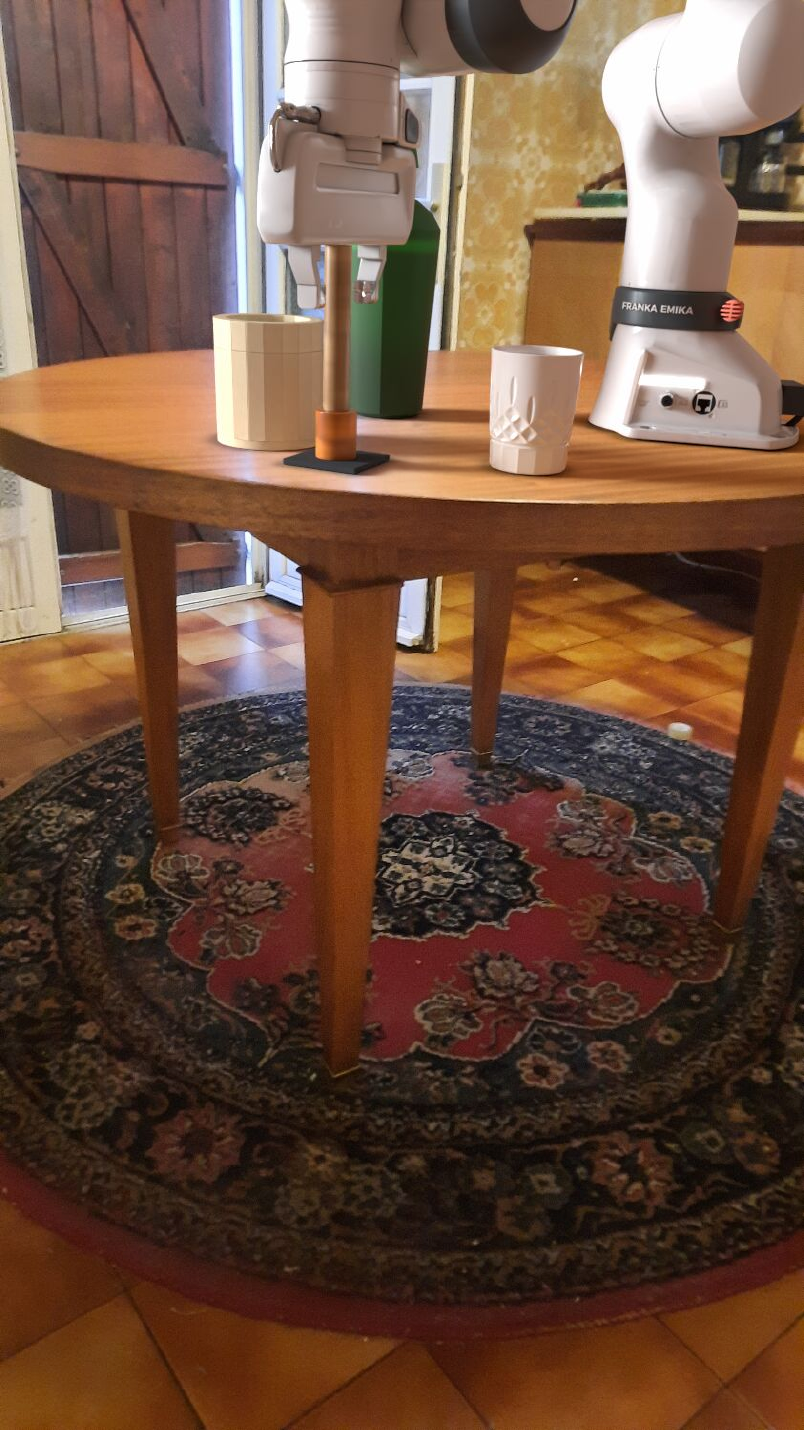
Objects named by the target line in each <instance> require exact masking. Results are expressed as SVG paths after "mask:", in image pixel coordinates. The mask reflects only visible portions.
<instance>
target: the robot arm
mask: <svg viewBox="0 0 804 1430" xmlns="http://www.w3.org/2000/svg"><path fill="white" fill-rule="evenodd" d="M283 1H284V5H285V9H286V13H287V17H288V18H287V20H288V41H287V45H286V50H285V54H284V59H283V72H284V73H283V74H284V75H283V76H284V80H283V81H284V91H283V92H284V101H282V102H280V103H278V106H277V108H276V109H275V111H274V112H273V114H272V117H271V118H269V120H268V123H267V124H268V125H267V135H265V137H264V138H263V141H262V144H261V148H260V154H259V164H258V165H259V166H258V167H259V168H258V177H257V194H256V195H257V197H256V198H257V200H256V224H257V230H258V232H259V235H260V237H261V240H262V242H263V243H264V244H267V245H268V244H269V245H281V246H287V251H288V253H287V254H288V257H287V260H288V261H287V262H288V263H289V267H290V270H291V272H292V276H293V278H294V280H295V281H294V282H295V284H296V285H297V287H296V289H297V291H296V292H297V293H296V294H297V305H298V306H297V307H298V308H300V309H301V310H310V311H311V310H312V311H313V310H321V309H324V307H325V305H326V299H325V296H326V285H325V284H322V282H321V277H320V271H319V265H318V262H321V261H322V259H321V258H322V246H325V245H358V258H360V259H361V261H360V267H359V272H358V277H357V280H356V281H353V291H354V292H353V300H354V302H356V303H363V304H370V303H375V302H377V300H378V290H379V281H380V278H381V275H382V272H383V269H384V266H385V263H386V255H387V245H404V244H406V242H407V240H408V238H409V235H410V232H411V229H412V223H413V214H414V202H415V199H416V185H417V184H416V183H417V168H416V161H415V157H414V154H413V152H412V151H411V150H410V149H408V148H416V149H418V148H420V146H421V144H422V138H423V137H422V136H423V133H422V132H423V124H422V121H421V119H420V118H419V116H418V115H417V114H416V112H415V111H414V109H412V107H411V106H410V104H409V103H408V101H407V99H406V96H405V94H404V92H402V90H401V74H404V75H407V76H409V77H413V78H418V79H420V78H421V79H429V78H441V77H460V76H468V75H475V74H482V73H483V74H484V73H486V74H495V75H496V74H497V75H499V74H501V75H527V74H530V73H533V72H535V71H537V70H539V69H541V68H542V67H545V65H546V64H548V63H549V62H550V61H551V60H552V59H553V58H554V57H555V56H556V54H557V53H558V51H559V50H560V49H561V47H562V45H563V44H564V42H565V40H566V38H567V36H568V34H569V32H570V30H571V28H572V25H573V24H574V20H575V17H576V14H577V13H576V12H577V10H578V5H579V0H283ZM601 79H602V80H601V96H602V102H603V103H602V104H603V107H604V110H605V113H606V115H607V117H608V119H609V120H610V122H611V123H612V125H613V126H614V128H615V130H616V131H617V134H618V137H619V142H620V145H621V150H622V156H623V164H624V170H625V178H626V192H627V211H626V226H625V234H624V245H623V254H622V262H621V272H620V278H619V279H620V280H619V285H617V286H616V287H615V288H614V289H615V290H614V295H613V298H612V302H611V309H610V316H609V317H610V318H609V326H608V333H609V336H608V340H609V341H610V345H609V350H608V355H607V359H606V363H605V367H604V372H603V375H602V379H601V383H600V386H599V390H598V392H597V396H596V399H595V402H594V404H593V407H592V409H591V412H590V414H589V416H588V419H587V420H588V422H589V423H590V424H592V425H594V426H597V427H600V428H602V429H606V430H609V431H613V432H616V433H617V434H619V435H621V436H623V437H626V438H630V439H639V440H651V441H661V442H663V441H664V442H675V443H687V444H698V445H710V446H721V447H722V446H723V447H735V448H745V449H757V450H779V449H780V450H782V449H785V448H790V447H792V446H794V445H795V444H797V443H798V441H799V437H800V429H799V427H798V426H796V425H798V424H799V423H800V422H801V421H802V420H803V419H804V383H801V382H798V381H796V380H794V379H781V378H780V375H779V374H778V372H777V371H776V370H775V369H774V367H773V366H772V365H771V364H770V363H768V361H767V360H766V359H765V358H764V357H763V356H762V355H761V354H760V353H759V352H758V351H757V350H756V349H755V348H754V347H753V346H752V345H751V343H749V342H748V340H746V339H745V337H743V335H742V334H741V333H740V332H739V331H738V330H739V329H741V326H742V323H743V318H744V311H745V303H744V301H742V300H740V299H738V298H737V297H736V296H734V295H733V294H732V293H730V292H729V291H727V290H728V284H729V278H730V272H731V266H732V260H733V254H734V249H735V248H734V247H735V242H736V235H737V230H738V223H739V215H740V214H739V207H738V204H737V202H736V199H735V198H734V196H733V195H732V194H731V193H730V191H729V190H728V189H727V188H726V185H725V183H724V180H723V176H722V173H721V165H720V164H721V163H720V156H719V155H720V153H719V140H720V137H730V136H731V137H732V136H742V135H747V134H748V135H749V134H752V133H754V132H757V131H759V130H763V129H765V128H767V127H770V126H772V125H774V124H777V123H779V122H781V121H783V120H785V119H787V118H789V117H791V116H792V115H794V114H795V113H796V112H798V110H800V109H801V108H802V107H803V105H804V0H686V2H685V8H684V10H682V11H680V12H675V13H671V14H666V15H663V16H659V17H656V18H654V19H651V20H649V21H648V22H646V23H645V24H643V25H641V26H640V27H639V28H637V29H636V30H634V31H632V32H631V33H630V34H629V35H627V36H626V37H624V38H623V39H621V40H620V41H619V42H618V43H617V45H616V46H615V47H614V48H613V50H612V51H611V52H610V55H609V56H608V58H607V60H606V63H605V66H604V69H603V74H602V78H601ZM783 416H793V417H791V418H790V419H789V420H788V421H782V419H783V418H782V417H783Z"/></svg>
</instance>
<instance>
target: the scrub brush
mask: <svg viewBox="0 0 804 1430" xmlns="http://www.w3.org/2000/svg"><path fill="white" fill-rule="evenodd" d="M351 269H352V246H349V245H324V285H326V296H325V299H326V305H325V307H324V308H323V313H324V314H323V317H324V319H323V320H324V348H323V349H324V354H323V407H320V408H317V409H316V443H315V446H314V448H315V456H316V457H317V458H320V459H324V460H331V461H345V460H352V459H355V458H356V450H357V441H358V439H357V437H358V434H357V433H358V414H357V410H355V409H352V408H349V387H350V328H351Z"/></svg>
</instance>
